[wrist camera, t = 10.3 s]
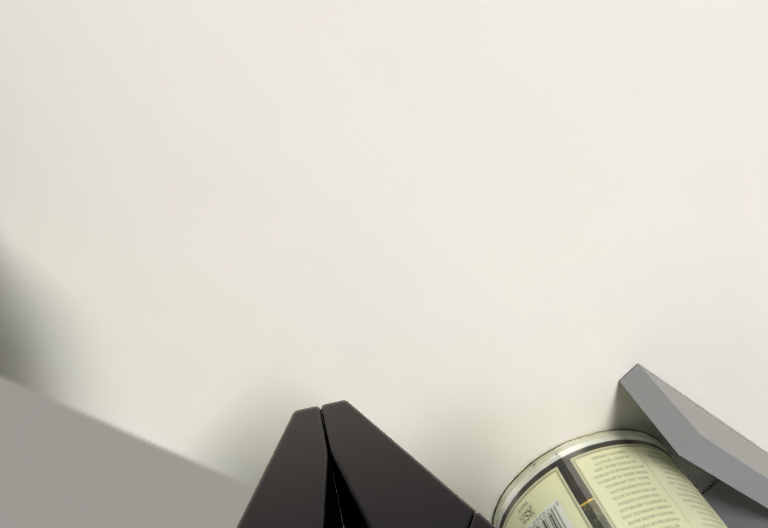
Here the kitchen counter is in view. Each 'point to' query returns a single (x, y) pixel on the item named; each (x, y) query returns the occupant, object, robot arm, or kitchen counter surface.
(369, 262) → the kitchen counter surface
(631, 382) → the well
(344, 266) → the kitchen counter surface
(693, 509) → the coffee can
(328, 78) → the kitchen counter surface
